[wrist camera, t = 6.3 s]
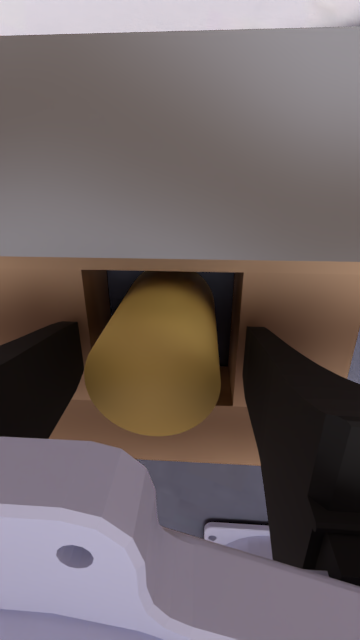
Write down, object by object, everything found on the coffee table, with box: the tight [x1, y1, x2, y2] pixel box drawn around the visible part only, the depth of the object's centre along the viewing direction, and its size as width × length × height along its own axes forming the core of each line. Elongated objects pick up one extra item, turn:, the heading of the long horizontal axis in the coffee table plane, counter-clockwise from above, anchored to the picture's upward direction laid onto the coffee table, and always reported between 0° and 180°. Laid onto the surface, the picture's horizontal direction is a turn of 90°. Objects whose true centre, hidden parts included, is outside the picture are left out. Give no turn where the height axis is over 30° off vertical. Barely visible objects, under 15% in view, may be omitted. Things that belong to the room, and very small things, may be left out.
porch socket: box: [0, 26, 360, 466], centre depth 12 cm, size 14×14×7 cm
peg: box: [84, 271, 221, 436], centre depth 12 cm, size 4×4×6 cm
